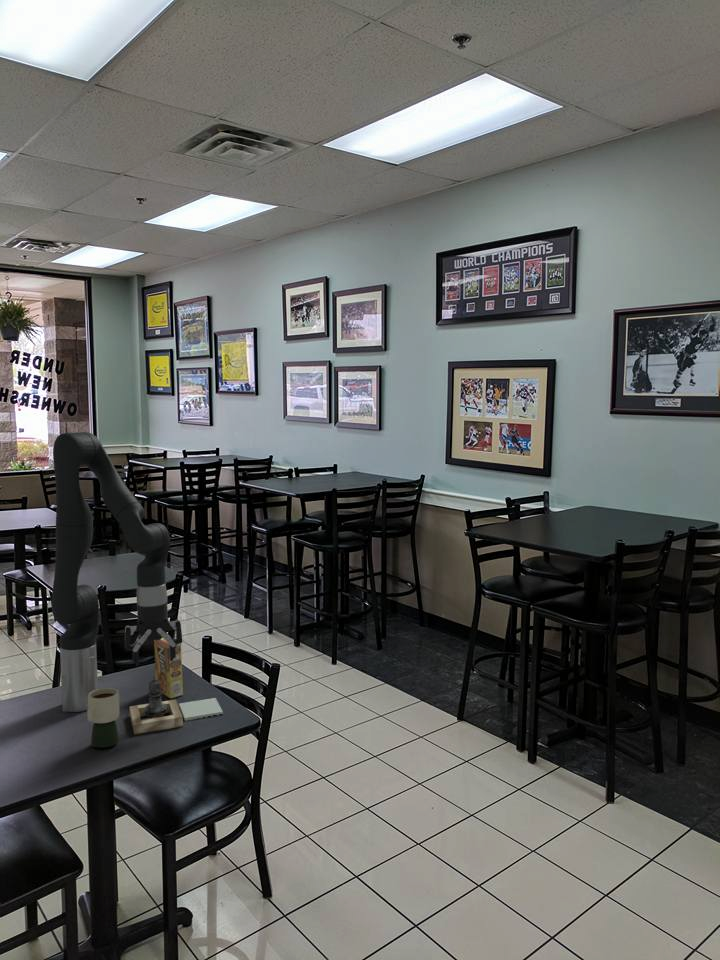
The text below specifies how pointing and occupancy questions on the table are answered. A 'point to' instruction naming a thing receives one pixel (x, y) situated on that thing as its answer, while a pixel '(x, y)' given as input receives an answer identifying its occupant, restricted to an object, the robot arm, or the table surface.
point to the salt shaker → (155, 701)
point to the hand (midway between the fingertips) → (154, 662)
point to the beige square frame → (155, 723)
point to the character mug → (103, 716)
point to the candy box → (168, 669)
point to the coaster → (200, 709)
